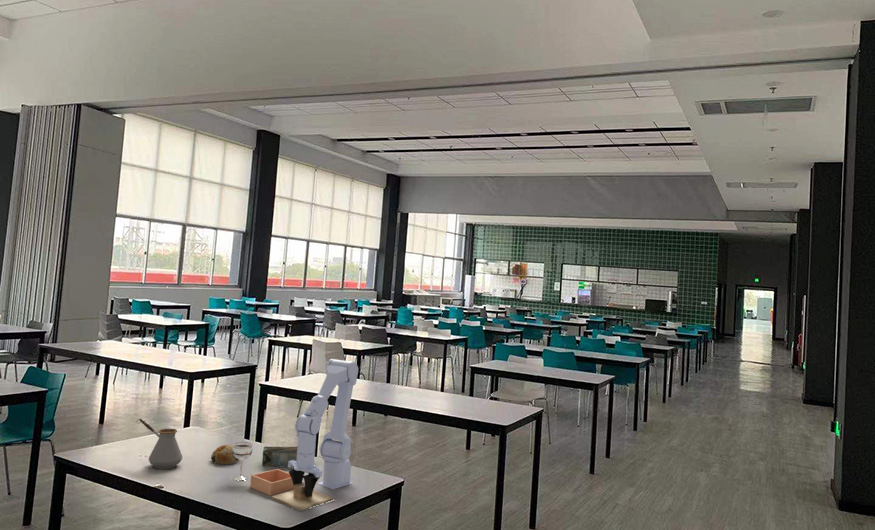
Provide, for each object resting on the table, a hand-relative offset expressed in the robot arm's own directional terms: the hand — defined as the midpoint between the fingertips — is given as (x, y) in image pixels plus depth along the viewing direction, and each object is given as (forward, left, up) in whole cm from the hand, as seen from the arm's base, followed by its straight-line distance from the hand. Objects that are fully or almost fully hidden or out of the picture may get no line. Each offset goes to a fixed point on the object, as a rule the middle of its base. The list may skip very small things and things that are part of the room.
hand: (303, 494), depth 207 cm
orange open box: (0, -15, -2) cm, 15 cm away
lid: (0, 0, -2) cm, 2 cm away
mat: (0, 0, -2) cm, 2 cm away
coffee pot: (+15, -65, -2) cm, 67 cm away
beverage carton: (-22, -35, -3) cm, 41 cm away
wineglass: (+2, -31, -2) cm, 31 cm away
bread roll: (-6, -52, -3) cm, 52 cm away
